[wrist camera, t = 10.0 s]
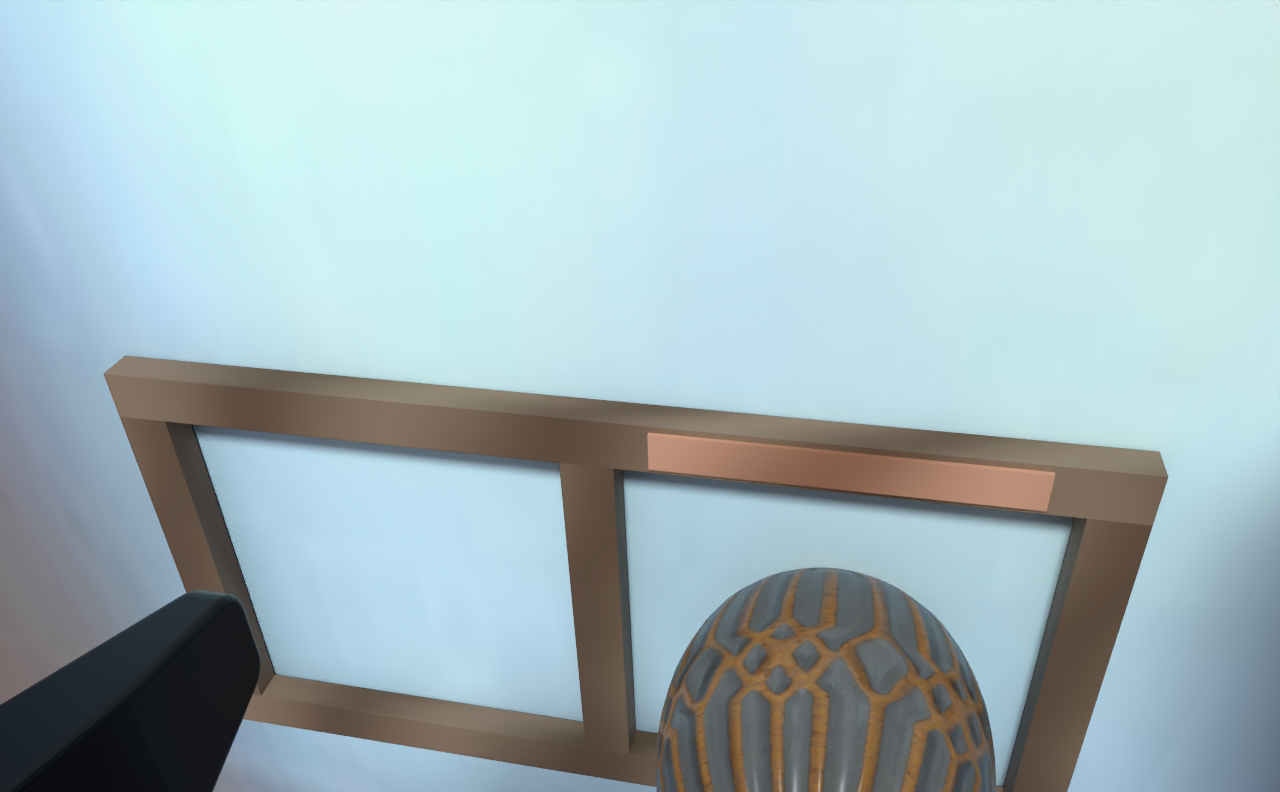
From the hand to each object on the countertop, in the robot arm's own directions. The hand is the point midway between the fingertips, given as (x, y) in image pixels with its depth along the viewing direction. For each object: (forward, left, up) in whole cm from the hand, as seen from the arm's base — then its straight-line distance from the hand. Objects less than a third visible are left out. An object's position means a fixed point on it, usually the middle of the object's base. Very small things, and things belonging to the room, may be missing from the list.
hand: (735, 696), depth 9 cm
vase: (-1, +12, -12) cm, 17 cm away
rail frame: (+5, +12, -12) cm, 17 cm away
